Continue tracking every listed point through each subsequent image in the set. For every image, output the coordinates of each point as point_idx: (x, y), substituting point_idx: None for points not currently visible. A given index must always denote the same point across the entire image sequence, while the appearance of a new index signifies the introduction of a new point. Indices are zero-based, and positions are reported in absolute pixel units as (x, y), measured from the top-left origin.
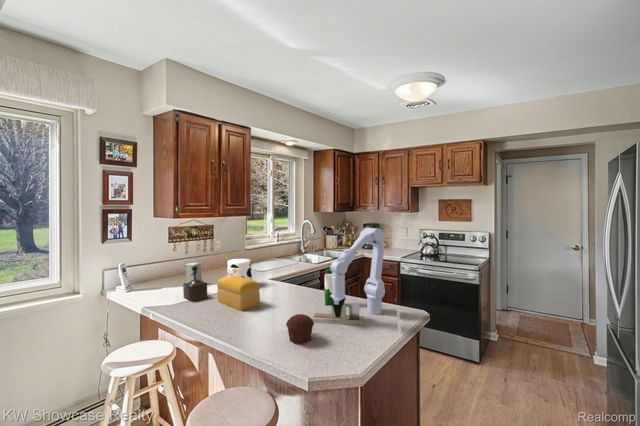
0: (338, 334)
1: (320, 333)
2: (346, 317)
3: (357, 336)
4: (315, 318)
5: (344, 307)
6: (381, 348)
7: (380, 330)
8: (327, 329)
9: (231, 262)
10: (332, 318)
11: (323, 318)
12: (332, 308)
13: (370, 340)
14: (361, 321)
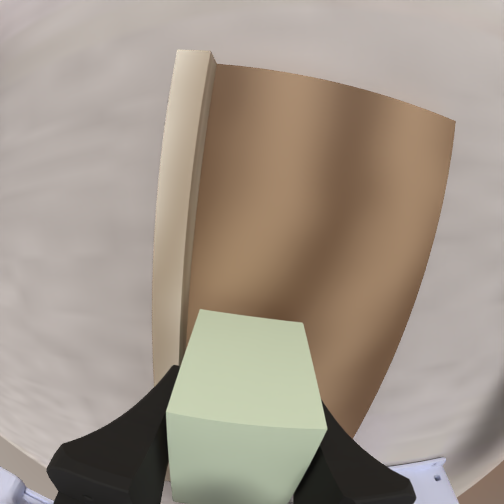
0: (41, 325)
1: (22, 202)
2: None
3: (59, 409)
4: (167, 119)
5: (180, 501)
6: (15, 440)
7: (165, 492)
8: (92, 251)
9: None
10: (197, 321)
11: (168, 222)
12: (172, 401)
13: (49, 438)
14: (165, 480)
